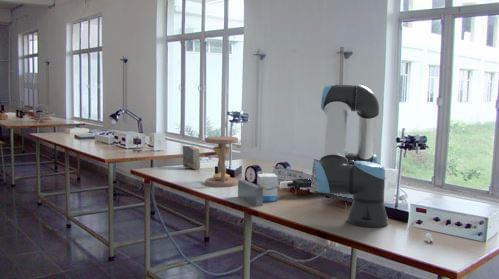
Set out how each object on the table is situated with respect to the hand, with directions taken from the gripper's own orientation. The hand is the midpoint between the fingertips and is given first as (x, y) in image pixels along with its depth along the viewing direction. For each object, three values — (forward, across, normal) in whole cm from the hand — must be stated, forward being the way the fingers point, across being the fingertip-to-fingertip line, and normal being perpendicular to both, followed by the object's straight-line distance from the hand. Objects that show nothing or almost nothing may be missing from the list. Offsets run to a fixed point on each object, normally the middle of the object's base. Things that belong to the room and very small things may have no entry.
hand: (280, 185), depth 220 cm
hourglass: (+13, +41, -6) cm, 44 cm away
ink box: (+7, 0, -6) cm, 10 cm away
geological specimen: (+13, +93, -6) cm, 94 cm away
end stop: (+16, 0, -6) cm, 17 cm away
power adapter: (-14, -78, -7) cm, 79 cm away
